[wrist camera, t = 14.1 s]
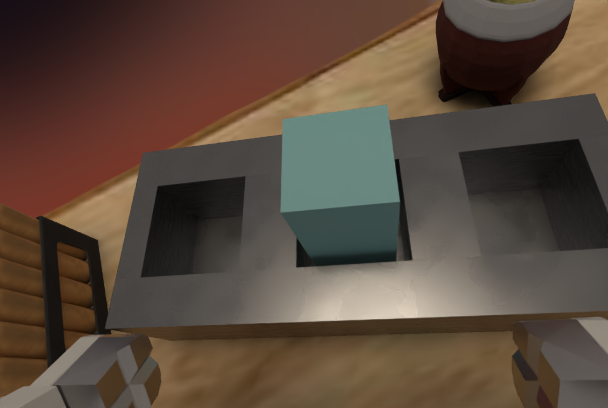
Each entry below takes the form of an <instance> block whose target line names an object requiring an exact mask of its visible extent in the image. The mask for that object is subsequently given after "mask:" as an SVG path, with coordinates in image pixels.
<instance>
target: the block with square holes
mask: <svg viewBox="0 0 608 408" xmlns="http://www.w3.org/2000/svg"><path fill="white" fill-rule="evenodd" d="M389 123H390V130H391V138H392V145H393V153H394V161H395V168H396V176H397V184H398V191H399V199H400V208H399V224H398V241H397V258H396V262H380V263H365V264H349V265H333V266H317V267H316V266H315V265H314V263H313V261H312V260H311V258H310V257H309V255H308V254H307V252H306V251H305V249H304V248H303V246H302V245H301V243H300V242H299V240H298V239H297V237H296V235H295V234H294V232H293V231H292V229H291V228H290V226H289V225H288V223H287V222H286V220H285V219H284V217H283V216H282V214H281V173H282V135H276V136H268V137H260V138H253V139H245V140H238V141H230V142H222V143H215V144H207V145H200V146H192V147H184V148H177V149H169V150H162V151H155V152H146V153H143V156H142V160H141V165H140V169H139V174H138V178H137V183H136V188H135V192H134V197H133V202H132V206H131V211H130V215H129V220H128V225H127V229H126V234H125V238H124V243H123V248H122V252H121V257H120V262H119V266H118V271H117V275H116V280H115V285H114V289H113V294H112V298H111V303H110V308H109V312H108V317H107V322H106V326H105V329H109V330H115V331H120V332H126V333H132V334H143V335H146V336H149V337H154V338H160V339H166V340H202V339H238V338H273V337H309V336H345V335H381V334H417V333H453V332H489V331H513V327H514V324H515V322H516V321H537V320H562V319H571V318H583V317H602V318H604V319H607V320H608V121H607V119H606V117H605V115H604V112H603V110H602V108H601V106H600V103H599V101H598V99H597V97H596V94H595V93H594V94H587V95H579V96H572V97H564V98H556V99H549V100H541V101H534V102H526V103H518V104H511V105H503V106H496V107H488V108H481V109H473V110H465V111H458V112H450V113H443V114H435V115H427V116H420V117H412V118H405V119H397V120H389Z"/></svg>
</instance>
